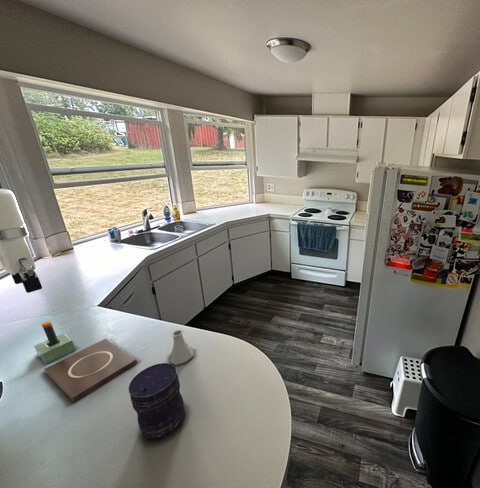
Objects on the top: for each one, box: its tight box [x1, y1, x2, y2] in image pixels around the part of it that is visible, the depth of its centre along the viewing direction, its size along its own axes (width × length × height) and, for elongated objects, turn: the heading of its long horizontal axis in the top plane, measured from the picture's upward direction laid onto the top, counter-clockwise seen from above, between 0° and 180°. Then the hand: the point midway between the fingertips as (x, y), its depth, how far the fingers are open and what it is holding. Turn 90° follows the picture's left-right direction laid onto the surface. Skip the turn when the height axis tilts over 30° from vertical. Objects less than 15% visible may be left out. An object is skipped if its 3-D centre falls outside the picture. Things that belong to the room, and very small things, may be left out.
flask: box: [169, 329, 194, 366], centre depth 84 cm, size 7×7×10 cm
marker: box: [41, 320, 59, 346], centre depth 84 cm, size 2×2×12 cm
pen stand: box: [33, 333, 76, 365], centre depth 85 cm, size 7×7×4 cm
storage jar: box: [128, 362, 187, 443], centre depth 62 cm, size 10×10×15 cm
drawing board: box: [43, 337, 138, 403], centre depth 80 cm, size 16×20×2 cm
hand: (28, 286), depth 77 cm, fingers open, 9 cm apart
